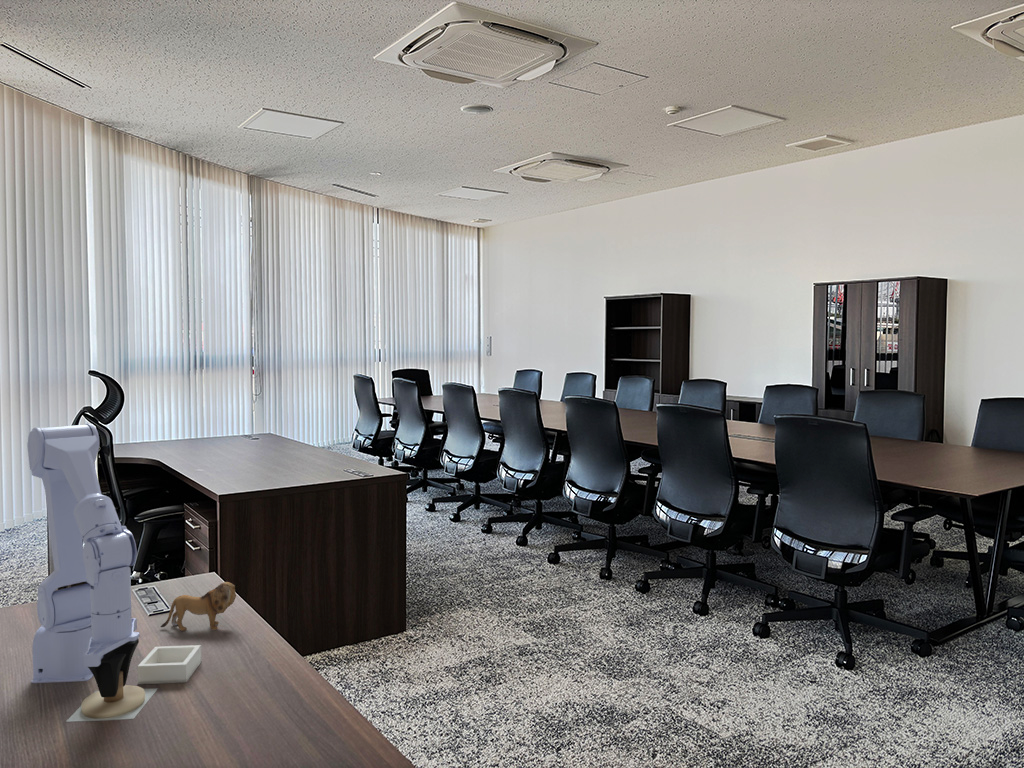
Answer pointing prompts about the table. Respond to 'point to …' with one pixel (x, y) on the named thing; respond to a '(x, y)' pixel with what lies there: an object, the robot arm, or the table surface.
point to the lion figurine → (203, 605)
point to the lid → (113, 702)
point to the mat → (130, 715)
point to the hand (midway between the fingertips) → (113, 691)
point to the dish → (169, 664)
